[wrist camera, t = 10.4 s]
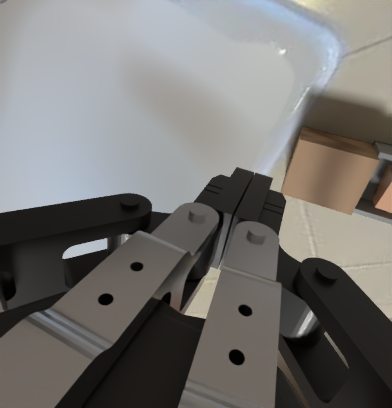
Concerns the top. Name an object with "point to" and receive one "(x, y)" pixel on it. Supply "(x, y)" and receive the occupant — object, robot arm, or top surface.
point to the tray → (365, 203)
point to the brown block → (329, 170)
